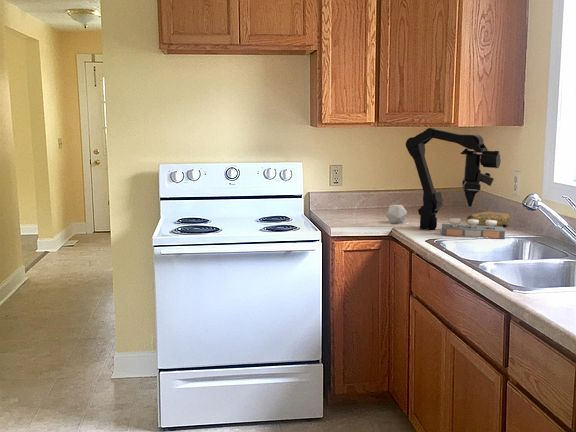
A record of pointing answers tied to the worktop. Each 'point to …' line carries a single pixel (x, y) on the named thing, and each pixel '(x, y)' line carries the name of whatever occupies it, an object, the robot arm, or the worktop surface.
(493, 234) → the board
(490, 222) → the button right
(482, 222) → the sponge
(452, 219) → the button left
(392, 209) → the die
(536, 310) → the worktop surface
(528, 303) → the worktop surface
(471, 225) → the button middle
